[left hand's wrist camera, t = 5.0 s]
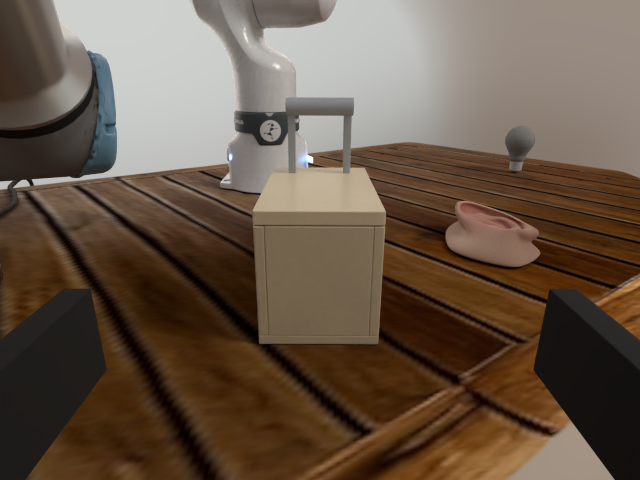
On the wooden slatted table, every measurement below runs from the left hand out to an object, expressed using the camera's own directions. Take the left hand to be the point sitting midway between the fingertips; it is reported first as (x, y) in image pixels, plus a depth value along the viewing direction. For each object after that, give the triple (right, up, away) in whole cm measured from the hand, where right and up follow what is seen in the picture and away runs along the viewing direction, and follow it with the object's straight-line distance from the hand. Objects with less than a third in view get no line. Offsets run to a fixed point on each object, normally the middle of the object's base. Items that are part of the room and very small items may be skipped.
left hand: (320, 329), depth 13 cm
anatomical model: (+22, +2, +43) cm, 48 cm away
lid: (0, +6, +26) cm, 27 cm away
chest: (0, -3, +30) cm, 30 cm away
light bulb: (+44, +18, +86) cm, 98 cm away
